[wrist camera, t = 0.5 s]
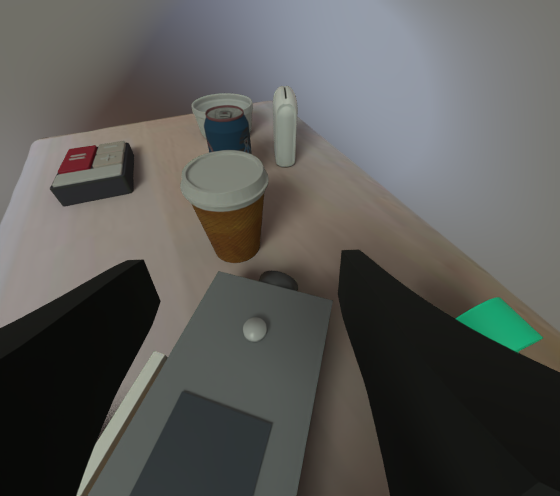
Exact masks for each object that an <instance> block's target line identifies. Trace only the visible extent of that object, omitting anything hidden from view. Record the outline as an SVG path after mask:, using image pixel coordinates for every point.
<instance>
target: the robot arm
mask: <svg viewBox="0 0 560 496" xmlns="http://www.w3.org/2000/svg"><path fill="white" fill-rule="evenodd" d="M338 297H339V302H340V307H341V312H342V317H343V320H344V324H345V327H346V330H347V333H348V336H349V339H350V341H351V344H352V347H353V350H354V353H355V356H356V359H357V362H358V365H359V368H360V371H361V374H362V377H363V380H364V383H365V387H366V390H367V394H368V398H369V402H370V406H371V410H372V415H373V419H374V423H375V427H376V432H377V436H378V441H379V445H380V450H381V454H382V458H383V463H384V468H385V473H386V477H387V482H388V487H389V492H390V496H560V372H558V371H555V370H553V369H551V368H549V367H547V366H545V365H542V364H540V363H538V362H536V361H534V360H532V359H530V358H528V357H526V356H524V355H522V354H519V353H517V352H516V351H514V350H512V349H510V348H508V347H506V346H504V345H502V344H500V343H498V342H496V341H494V340H492V339H490V338H488V337H486V336H484V335H483V334H481V333H479V332H477V331H475V330H474V329H472V328H470V327H468V326H466V325H465V324H463V323H461V322H460V321H458V320H456V319H455V318H453V317H451V316H450V315H448V314H446V313H444V312H443V311H441V310H440V309H438V308H437V307H435V306H433V305H432V304H430V303H429V302H427V301H426V300H424V299H423V298H422V297H420V296H419V295H417V294H416V293H414V292H413V291H411V290H410V289H409V288H407V287H406V286H405V285H403V284H402V283H401V282H399V281H398V280H397V279H395V278H394V277H393V276H391V275H390V274H389V273H388V272H386V271H385V270H384V269H383V268H381V267H380V266H379V265H378V264H376V263H375V262H374V261H373V260H371V259H370V258H369V257H368V256H367V255H365V254H364V253H363V252H361V251H360V250H342V253H341V264H340V275H339V287H338ZM160 302H161V301H160V299H159V296H158V294H157V291H156V289H155V286H154V284H153V281H152V279H151V277H150V274H149V272H148V269H147V267H146V264H145V262H144V260H127V261H125V262H122V263H120V264H118V265H116V266H114V267H112V268H110V269H109V270H107V271H105V272H103V273H101V274H99V275H98V276H96V277H94V278H92V279H91V280H89V281H87V282H85V283H84V284H82V285H80V286H78V287H77V288H75V289H73V290H71V291H70V292H68V293H66V294H64V295H63V296H61V297H59V298H57V299H55V300H53V301H52V302H50V303H48V304H46V305H44V306H42V307H40V308H39V309H37V310H35V311H33V312H31V313H29V314H27V315H26V316H24V317H22V318H20V319H18V320H16V321H14V322H12V323H10V324H8V325H6V326H4V327H2V328H0V496H77V493H78V490H79V487H80V484H81V481H82V478H83V475H84V473H85V470H86V467H87V464H88V462H89V459H90V457H91V454H92V451H93V449H94V446H95V444H96V441H97V438H98V436H99V433H100V431H101V428H102V426H103V423H104V421H105V419H106V416H107V414H108V411H109V409H110V407H111V404H112V402H113V400H114V398H115V395H116V393H117V391H118V389H119V387H120V385H121V383H122V381H123V380H124V378H125V376H126V374H127V372H128V370H129V368H130V366H131V365H132V363H133V361H134V359H135V357H136V355H137V353H138V352H139V350H140V348H141V346H142V344H143V342H144V340H145V338H146V336H147V334H148V332H149V330H150V328H151V326H152V324H153V321H154V319H155V316H156V313H157V310H158V307H159V305H160Z"/></svg>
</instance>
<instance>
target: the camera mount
mask: <svg viewBox="0 0 560 496" xmlns="http://www.w3.org/2000/svg"><path fill="white" fill-rule="evenodd" d="M456 320H458V321H460V322H461V323H463V324H465V325H466V326H468V327H470V328H472V329H474V330H475V331H477V332H479V333H481V334H483V335H484V336H486V337H488V338H490V339H492V340H494V341H496V342H498V343H500V344H502V345H504V346H506V347H508V348H510V349H512V350H514V351H516V352H517V353H518V351H520V350H522V349H524V348H526V347H528V346H530V345H532V344H534V343H536V342H537V341H539V340H541V339H543V337H542V336H541V335H540V334H539V333H538V332H536V331H535V330H534V329H533V328H532V327H531V326H530V325H529V324H528V323H527V322H526V321H525V320H524V319H522V318H521V317H520V316H519V315H518V314H517V313H516V312H515V311H514V310H513V309H512V308H511V307H510V306H509V305H507V304H506V303H505V302H504V301H503V300H502V299H501V298H500V297H497V298H493V299H490V300H488V301H485V302H483V303H481V304H479V305H477V306H475V307H473V308H472V309H470V310H468V311H466V312H465V313H463V314H462V315H460V316H459V317H457V318H456Z"/></svg>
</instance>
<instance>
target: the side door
mask: <svg viewBox="0 0 560 496" xmlns="http://www.w3.org/2000/svg"><path fill="white" fill-rule="evenodd" d="M166 360H167V357H166V355H164V354H161V353H158V352H156V351H154V352H153V354H152V356H151V357H150V359H149V360H148V362H147V364H146V365H145V367H144V368H143V370H142V371H141V373H140V375H139V376H138V378H137V379H136V381H135V383H134V384H133V386H132V387H131V389H130V390H129V392H128V394H127V395H126V397H125V398H124V400H123V402H122V403H121V405H120V406H119V408H118V410H117V411H116V413H115V414H114V416H113V417H112V419H111V421H110V422H109V424H108V425H107V427H106V429H105V430H104V432H103V433H102V435H101V436H100V438H99V440H98V441H97V443H96V444H95V446H94V449H93V451H92V454H91V457H90V459H89V462H88V464H87V467H86V470H85V473H84V475H83V478H82V481H81V484H80V487H79V490H78V493H77V496H87V495H88V493H89V492H90V490H91V488H92V487H93V485H94V483H95V482H96V480H97V478H98V476H99V475H100V473H101V471H102V470H103V468H104V466H105V464H106V463H107V461H108V459H109V458H110V456H111V454H112V452H113V451H114V449H115V447H116V446H117V444H118V442H119V441H120V439H121V437H122V435H123V434H124V432H125V430H126V429H127V427H128V425H129V423H130V422H131V420H132V418H133V417H134V415H135V413H136V411H137V410H138V408H139V406H140V405H141V403H142V401H143V399H144V398H145V396H146V394H147V393H148V391H149V389H150V388H151V386H152V384H153V382H154V381H155V379H156V377H157V376H158V374H159V372H160V370H161V369H162V367H163V365H164V364H165V362H166Z"/></svg>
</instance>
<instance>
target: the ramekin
mask: <svg viewBox="0 0 560 496" xmlns="http://www.w3.org/2000/svg"><path fill="white" fill-rule="evenodd" d="M221 105H233V106H238V107H240V108H242V109H243V111H244V115H245V117H246V118H247V120H248V122H249V132H251V126H252V109H253V104H252V100H251V99H250V98H248V97H246V96H242V95H238V94H214V95H208V96H204V97H201V98H199V99H197V100H195V101H194V102H193V103H192V111H193V113H194V115H195V117H196V120H197V123H198V126H199V128H200V131H201V133H202V135H203V136H204V137H205V138H206V134H205V130H204V122H205V118H206V115H205V112H206V111H207V110H208V109H210V108H212V107H216V106H221Z"/></svg>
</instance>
